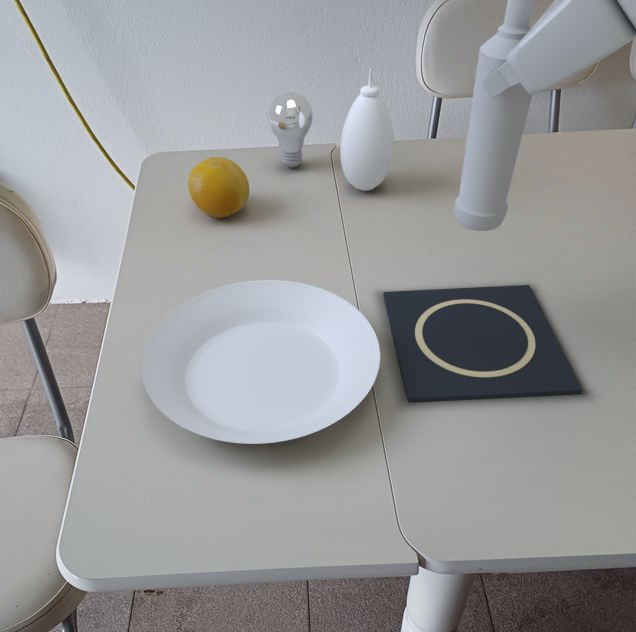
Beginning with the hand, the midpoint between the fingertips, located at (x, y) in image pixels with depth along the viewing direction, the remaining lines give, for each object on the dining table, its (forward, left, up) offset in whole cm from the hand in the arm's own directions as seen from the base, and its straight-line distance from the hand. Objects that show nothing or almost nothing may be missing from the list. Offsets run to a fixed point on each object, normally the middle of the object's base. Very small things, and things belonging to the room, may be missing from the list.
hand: (499, 75), depth 57 cm
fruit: (+29, -28, -28) cm, 49 cm away
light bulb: (+18, -41, -28) cm, 53 cm away
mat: (-1, +3, -28) cm, 29 cm away
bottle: (0, 0, -14) cm, 15 cm away
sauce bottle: (+7, -33, -28) cm, 44 cm away
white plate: (+23, +7, -28) cm, 37 cm away
